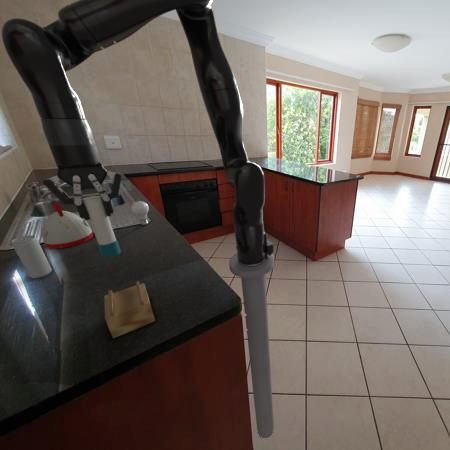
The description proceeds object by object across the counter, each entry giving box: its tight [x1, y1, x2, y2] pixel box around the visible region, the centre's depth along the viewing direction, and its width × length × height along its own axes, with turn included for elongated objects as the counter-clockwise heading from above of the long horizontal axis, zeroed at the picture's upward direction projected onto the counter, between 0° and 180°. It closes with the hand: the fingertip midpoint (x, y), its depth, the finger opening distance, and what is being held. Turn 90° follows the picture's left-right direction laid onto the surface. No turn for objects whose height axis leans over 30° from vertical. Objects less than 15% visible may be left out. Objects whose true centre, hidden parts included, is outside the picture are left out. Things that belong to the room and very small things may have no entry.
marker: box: [82, 195, 122, 259], centre depth 58 cm, size 15×4×4 cm
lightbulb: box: [131, 200, 150, 226], centre depth 104 cm, size 6×6×11 cm
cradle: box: [103, 280, 156, 339], centre depth 55 cm, size 8×9×6 cm
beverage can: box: [11, 235, 53, 279], centre depth 69 cm, size 5×5×12 cm
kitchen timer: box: [40, 202, 94, 249], centre depth 89 cm, size 14×14×15 cm
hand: (98, 216), depth 57 cm, fingers closed on marker, 3 cm apart
